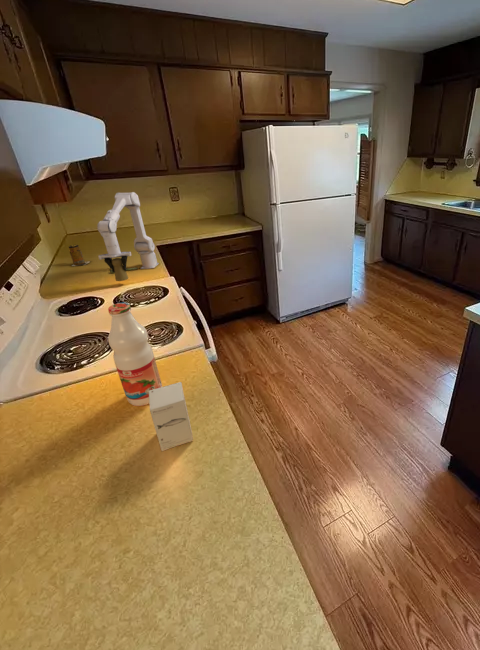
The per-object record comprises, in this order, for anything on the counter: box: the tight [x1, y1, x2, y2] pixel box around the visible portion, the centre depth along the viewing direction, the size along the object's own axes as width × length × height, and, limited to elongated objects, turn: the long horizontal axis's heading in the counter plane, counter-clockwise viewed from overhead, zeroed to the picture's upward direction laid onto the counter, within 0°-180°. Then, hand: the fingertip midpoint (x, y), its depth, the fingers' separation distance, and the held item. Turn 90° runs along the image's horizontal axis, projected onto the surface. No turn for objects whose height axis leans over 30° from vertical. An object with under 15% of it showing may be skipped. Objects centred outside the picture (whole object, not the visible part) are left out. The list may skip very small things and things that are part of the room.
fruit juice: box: [107, 301, 163, 407], centre depth 87 cm, size 9×9×28 cm
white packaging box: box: [148, 381, 194, 452], centre depth 76 cm, size 7×7×13 cm
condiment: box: [68, 244, 91, 267], centre depth 206 cm, size 7×8×12 cm
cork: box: [111, 257, 129, 282], centre depth 169 cm, size 6×6×11 cm
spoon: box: [109, 267, 139, 274], centre depth 193 cm, size 15×4×1 cm, turn 107°
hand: (119, 271), depth 169 cm, fingers closed on cork, 5 cm apart
